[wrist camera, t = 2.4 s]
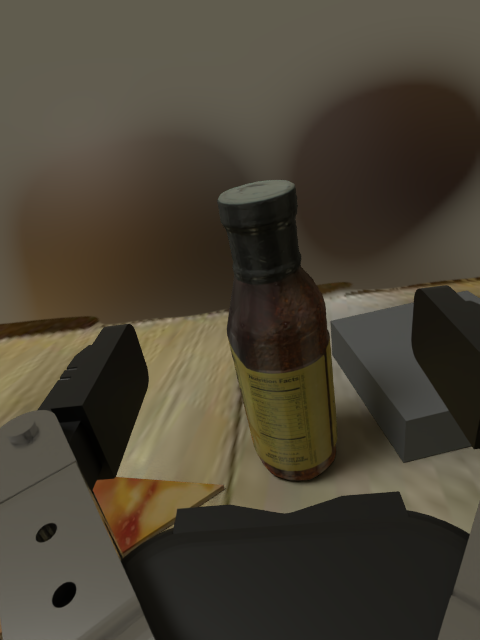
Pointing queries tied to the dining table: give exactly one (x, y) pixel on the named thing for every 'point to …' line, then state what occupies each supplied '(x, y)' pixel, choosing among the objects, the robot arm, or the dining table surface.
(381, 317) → the charcoal base
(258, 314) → the sauce bottle
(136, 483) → the pizza slice
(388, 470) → the dining table surface
